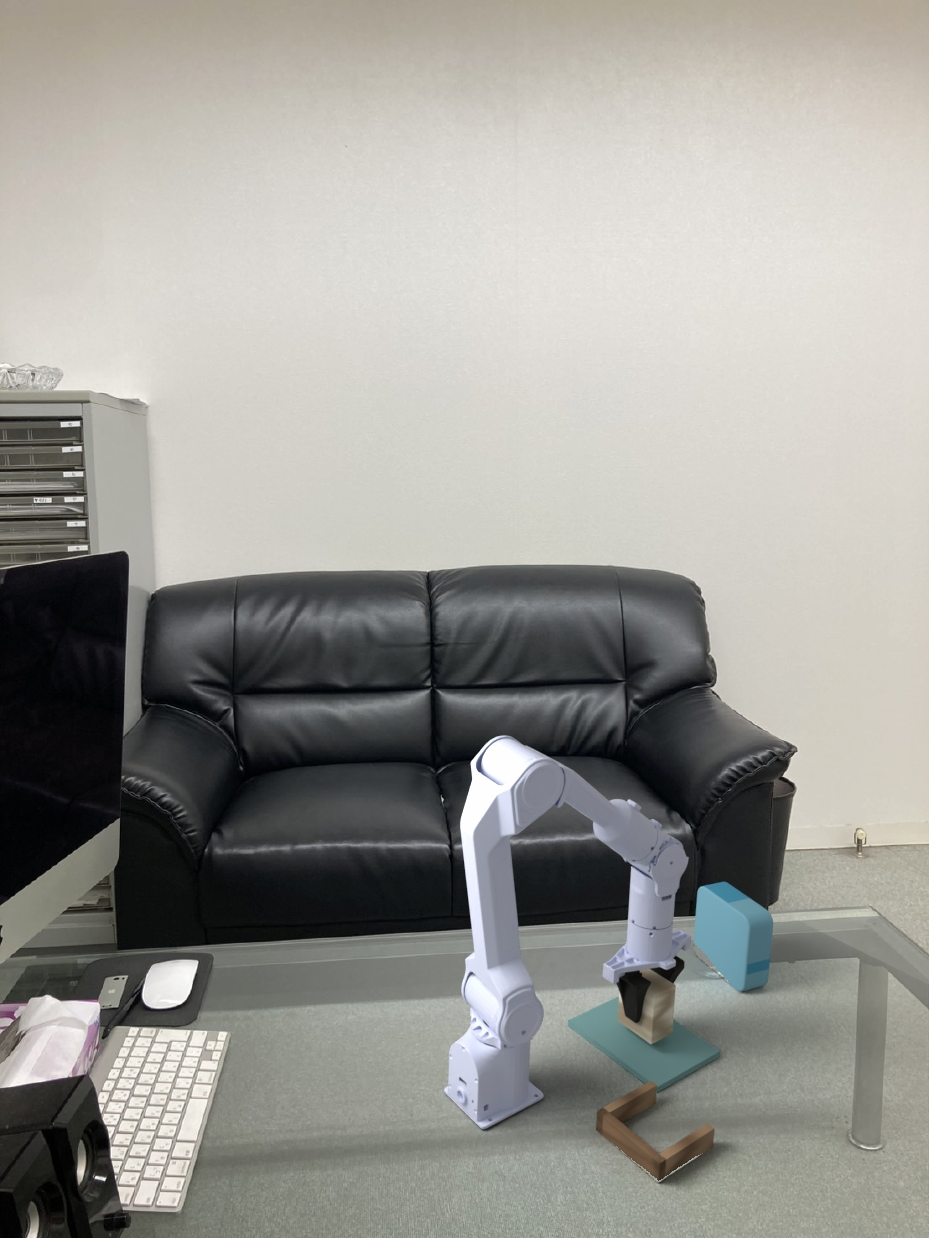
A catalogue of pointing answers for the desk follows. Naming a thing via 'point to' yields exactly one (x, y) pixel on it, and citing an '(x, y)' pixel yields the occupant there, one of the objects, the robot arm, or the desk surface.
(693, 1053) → the slate-teal mat
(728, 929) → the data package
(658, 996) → the ash blank
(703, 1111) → the desk surface
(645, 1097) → the frame
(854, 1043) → the desk surface
